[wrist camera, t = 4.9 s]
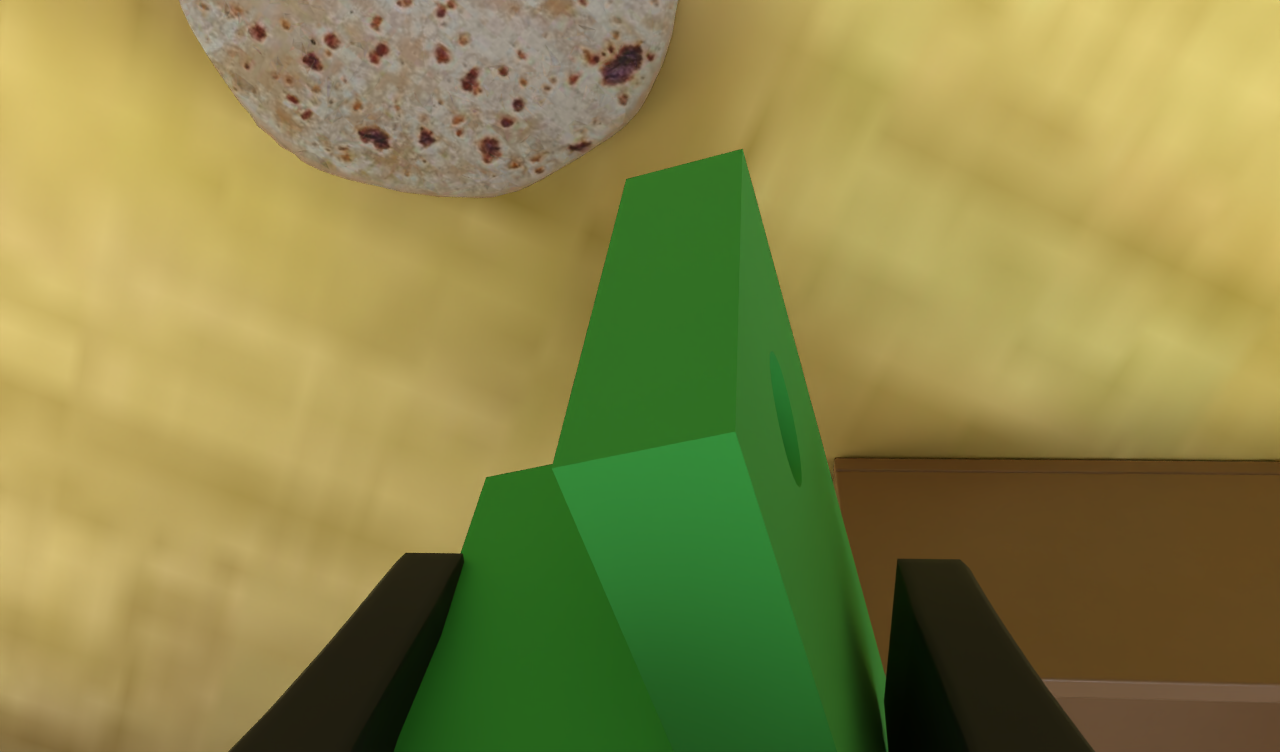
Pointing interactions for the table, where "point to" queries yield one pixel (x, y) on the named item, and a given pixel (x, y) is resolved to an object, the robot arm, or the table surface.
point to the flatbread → (437, 82)
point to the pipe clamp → (666, 524)
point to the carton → (1101, 582)
